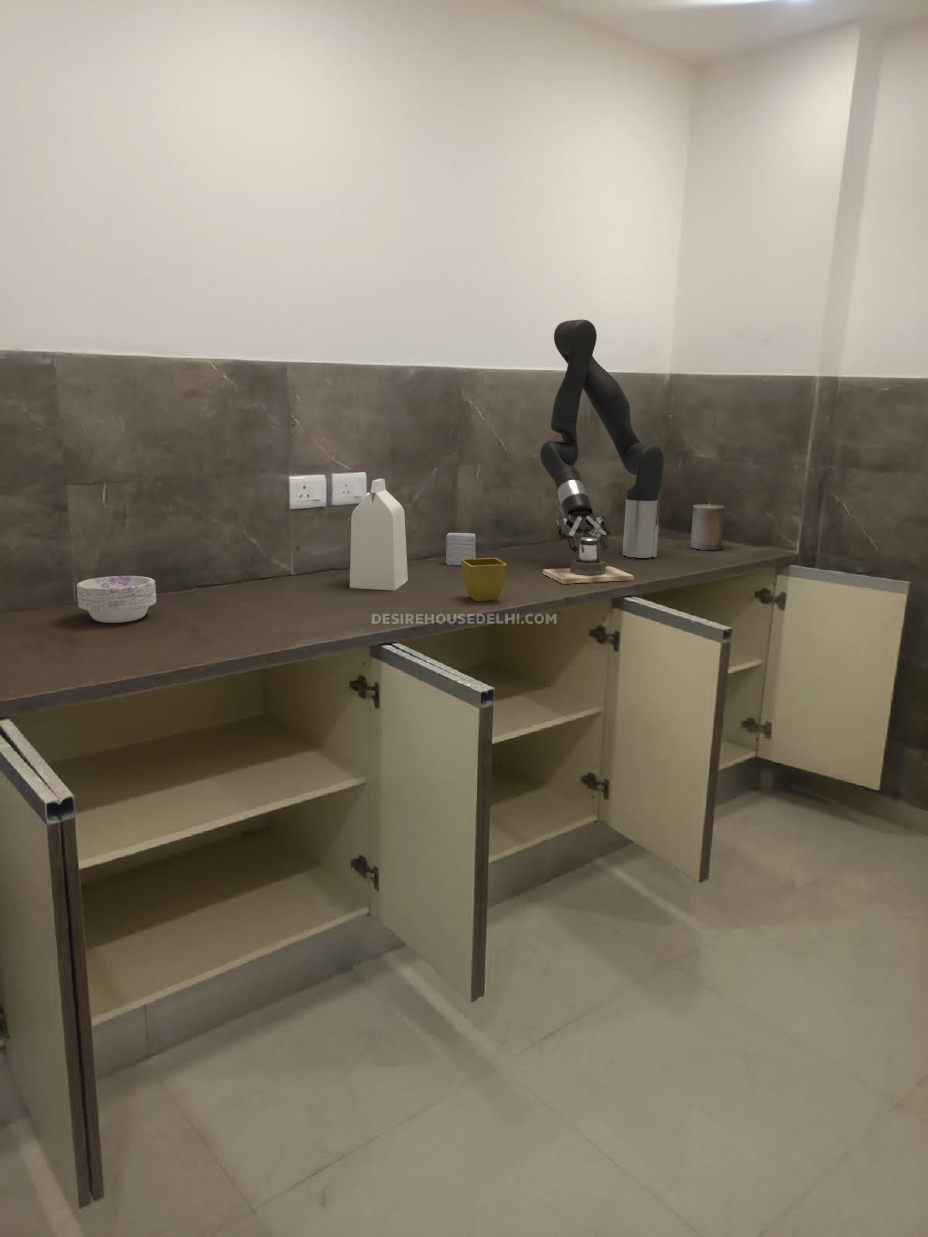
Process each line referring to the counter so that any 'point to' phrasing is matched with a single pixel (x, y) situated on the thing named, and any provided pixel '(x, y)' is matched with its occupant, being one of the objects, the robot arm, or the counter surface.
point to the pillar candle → (707, 526)
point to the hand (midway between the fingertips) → (590, 550)
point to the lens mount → (587, 573)
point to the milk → (378, 541)
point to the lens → (588, 550)
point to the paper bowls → (116, 597)
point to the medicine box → (459, 547)
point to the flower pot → (483, 577)
